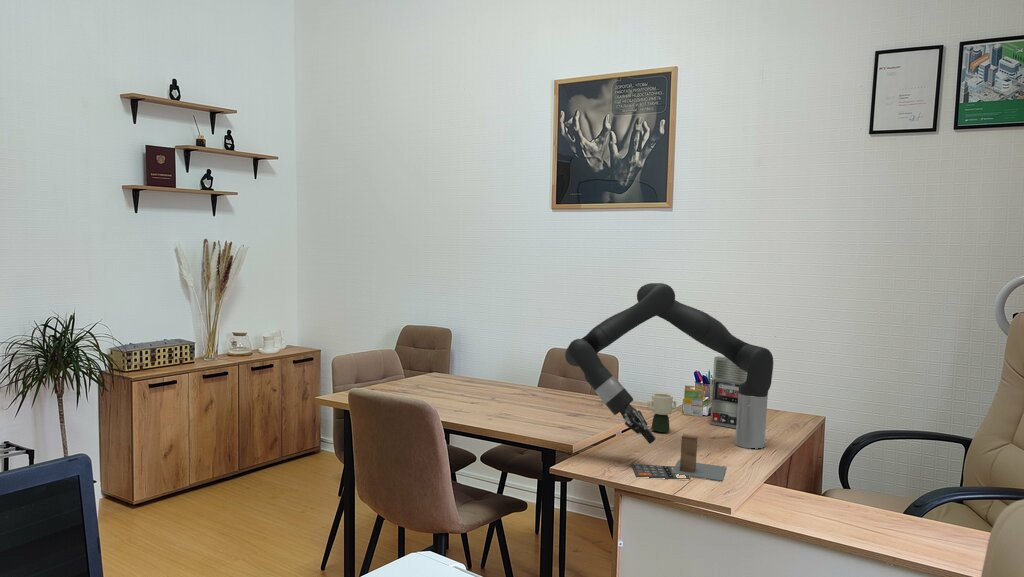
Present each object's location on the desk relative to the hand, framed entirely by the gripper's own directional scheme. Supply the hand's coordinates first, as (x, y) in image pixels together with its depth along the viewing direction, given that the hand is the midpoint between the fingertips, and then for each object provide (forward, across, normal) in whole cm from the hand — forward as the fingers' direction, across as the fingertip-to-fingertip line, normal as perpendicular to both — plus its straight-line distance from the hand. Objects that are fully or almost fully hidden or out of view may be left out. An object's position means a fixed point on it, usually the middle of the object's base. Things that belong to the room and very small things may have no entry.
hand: (653, 441), depth 212 cm
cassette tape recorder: (+18, +65, -7) cm, 68 cm away
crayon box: (+7, +77, +4) cm, 77 cm away
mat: (+15, +2, -4) cm, 15 cm away
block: (+12, 0, -2) cm, 12 cm away
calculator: (+8, -5, +3) cm, 10 cm away
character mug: (+2, +43, +9) cm, 44 cm away
